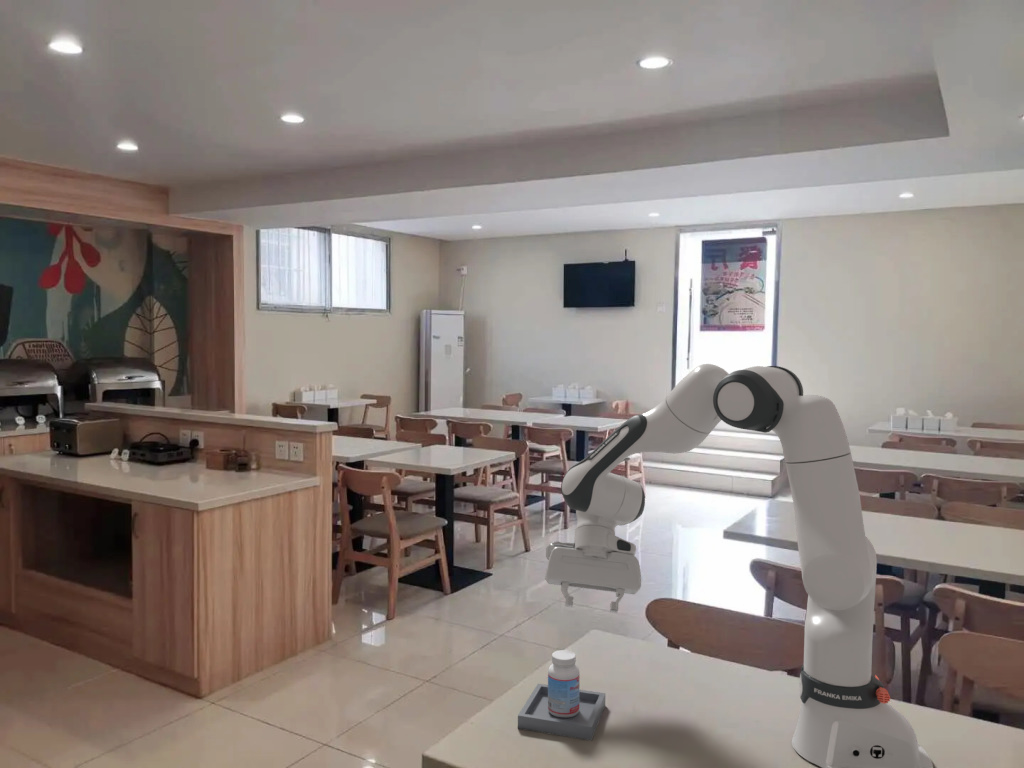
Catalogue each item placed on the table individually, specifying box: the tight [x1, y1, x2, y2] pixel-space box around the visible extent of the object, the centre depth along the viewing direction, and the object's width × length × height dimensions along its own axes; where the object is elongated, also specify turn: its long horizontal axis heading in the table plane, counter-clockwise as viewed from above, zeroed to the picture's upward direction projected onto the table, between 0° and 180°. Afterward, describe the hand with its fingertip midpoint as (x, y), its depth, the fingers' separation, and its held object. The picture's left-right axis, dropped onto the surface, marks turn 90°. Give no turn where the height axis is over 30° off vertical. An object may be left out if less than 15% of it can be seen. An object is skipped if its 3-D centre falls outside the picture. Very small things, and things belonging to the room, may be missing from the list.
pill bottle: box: [547, 649, 580, 718], centre depth 147 cm, size 6×6×11 cm
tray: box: [517, 683, 606, 741], centre depth 147 cm, size 14×14×2 cm
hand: (591, 608), depth 158 cm, fingers open, 8 cm apart
